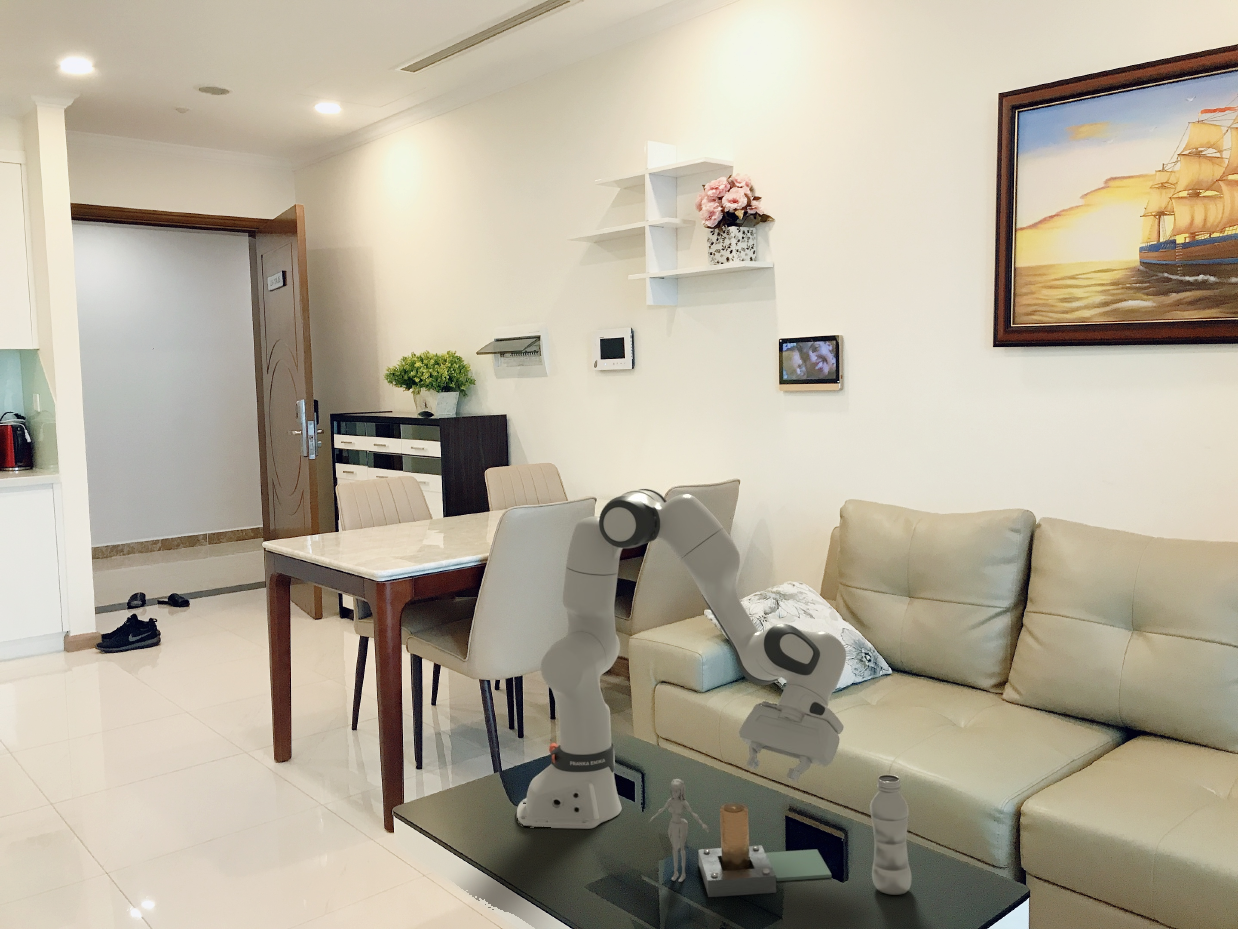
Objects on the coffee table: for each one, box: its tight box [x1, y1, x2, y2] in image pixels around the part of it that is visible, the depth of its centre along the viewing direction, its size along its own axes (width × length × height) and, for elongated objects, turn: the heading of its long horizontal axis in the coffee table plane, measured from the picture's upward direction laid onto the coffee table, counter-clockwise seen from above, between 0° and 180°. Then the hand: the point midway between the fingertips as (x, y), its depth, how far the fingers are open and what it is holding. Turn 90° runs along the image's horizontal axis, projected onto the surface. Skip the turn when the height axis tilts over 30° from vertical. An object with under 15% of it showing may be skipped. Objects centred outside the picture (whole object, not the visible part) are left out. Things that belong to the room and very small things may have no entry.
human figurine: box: [647, 778, 710, 883], centre depth 176 cm, size 12×4×18 cm, turn 63°
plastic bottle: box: [869, 774, 913, 896], centre depth 168 cm, size 6×7×20 cm
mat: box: [765, 848, 832, 882], centre depth 179 cm, size 10×10×1 cm
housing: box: [697, 845, 777, 898], centre depth 175 cm, size 12×12×3 cm
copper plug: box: [719, 802, 750, 871], centre depth 175 cm, size 5×5×13 cm
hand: (770, 773), depth 182 cm, fingers open, 8 cm apart
